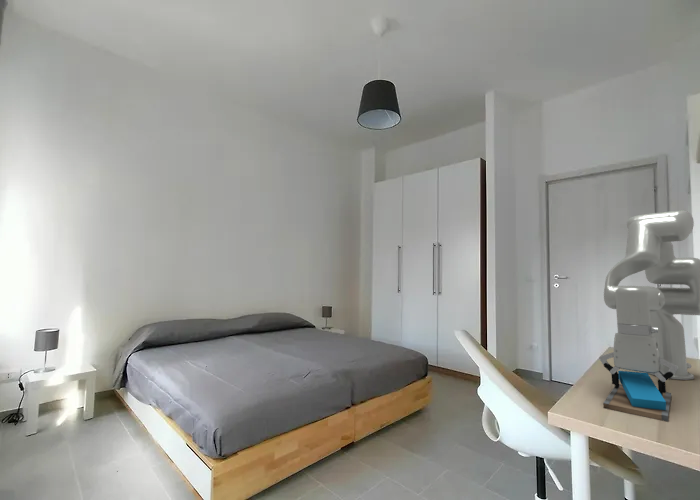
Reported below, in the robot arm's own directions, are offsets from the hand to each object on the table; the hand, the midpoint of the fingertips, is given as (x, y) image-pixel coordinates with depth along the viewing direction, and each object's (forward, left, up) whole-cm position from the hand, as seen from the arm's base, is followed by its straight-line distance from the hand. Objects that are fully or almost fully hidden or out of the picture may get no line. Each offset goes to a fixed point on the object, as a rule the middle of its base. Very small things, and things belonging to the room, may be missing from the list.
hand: (638, 391), depth 98 cm
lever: (0, 0, -2) cm, 2 cm away
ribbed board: (0, 0, -3) cm, 3 cm away
